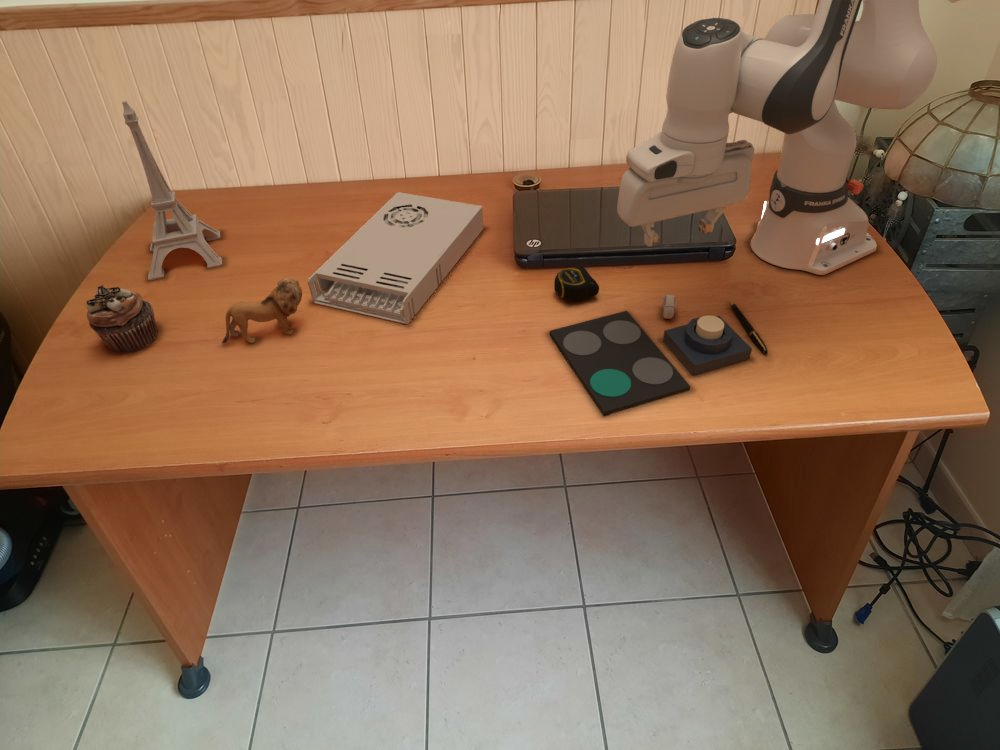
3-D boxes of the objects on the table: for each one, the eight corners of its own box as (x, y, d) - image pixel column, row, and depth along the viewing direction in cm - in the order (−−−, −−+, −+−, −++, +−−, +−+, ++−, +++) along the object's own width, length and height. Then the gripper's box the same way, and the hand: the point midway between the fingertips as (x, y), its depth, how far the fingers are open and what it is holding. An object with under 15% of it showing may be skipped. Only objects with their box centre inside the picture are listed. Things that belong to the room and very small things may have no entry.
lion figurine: (306, 311, 121) (294, 268, 115) (314, 328, 117) (302, 284, 111) (220, 337, 117) (202, 293, 110) (225, 355, 113) (208, 311, 107)
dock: (716, 326, 113) (721, 306, 111) (749, 359, 107) (754, 339, 104) (662, 341, 111) (665, 321, 108) (692, 376, 105) (696, 356, 102)
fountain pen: (725, 303, 118) (727, 296, 117) (732, 302, 118) (733, 295, 117) (762, 358, 107) (765, 350, 106) (770, 356, 107) (772, 349, 106)
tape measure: (599, 300, 120) (601, 282, 117) (562, 309, 118) (563, 291, 116) (584, 279, 125) (585, 261, 122) (548, 287, 123) (548, 269, 121)
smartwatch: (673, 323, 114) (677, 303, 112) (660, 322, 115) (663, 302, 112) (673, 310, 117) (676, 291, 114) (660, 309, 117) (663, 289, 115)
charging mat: (626, 314, 117) (626, 309, 116) (689, 390, 103) (690, 385, 102) (549, 334, 114) (549, 329, 113) (603, 415, 99) (604, 410, 99)
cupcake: (157, 352, 114) (133, 303, 108) (96, 360, 113) (68, 311, 107) (168, 317, 121) (146, 269, 115) (110, 324, 120) (85, 276, 114)
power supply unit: (313, 303, 123) (306, 279, 119) (400, 213, 145) (397, 191, 141) (408, 325, 117) (404, 301, 114) (484, 228, 139) (482, 205, 136)
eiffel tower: (220, 232, 142) (167, 82, 122) (222, 265, 133) (165, 109, 113) (151, 245, 140) (85, 94, 119) (148, 280, 130) (76, 123, 110)
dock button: (713, 321, 109) (714, 312, 107) (727, 336, 106) (729, 327, 105) (690, 327, 108) (692, 318, 106) (704, 343, 105) (706, 334, 104)
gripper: (743, 129, 101) (725, 214, 110) (616, 154, 97) (609, 241, 106) (769, 146, 97) (749, 233, 106) (637, 173, 92) (628, 262, 101)
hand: (678, 237), depth 106 cm, fingers open, 8 cm apart
